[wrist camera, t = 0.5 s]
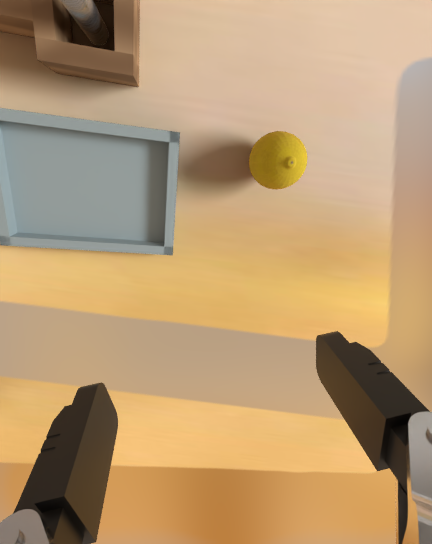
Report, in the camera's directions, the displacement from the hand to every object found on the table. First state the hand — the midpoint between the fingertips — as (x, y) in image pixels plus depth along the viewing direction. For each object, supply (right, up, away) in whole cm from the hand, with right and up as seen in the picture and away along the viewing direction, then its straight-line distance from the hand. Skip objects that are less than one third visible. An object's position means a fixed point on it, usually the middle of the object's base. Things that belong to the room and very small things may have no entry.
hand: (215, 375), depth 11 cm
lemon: (+6, +17, +22) cm, 29 cm away
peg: (-11, +26, +15) cm, 32 cm away
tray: (-14, +13, +21) cm, 28 cm away
